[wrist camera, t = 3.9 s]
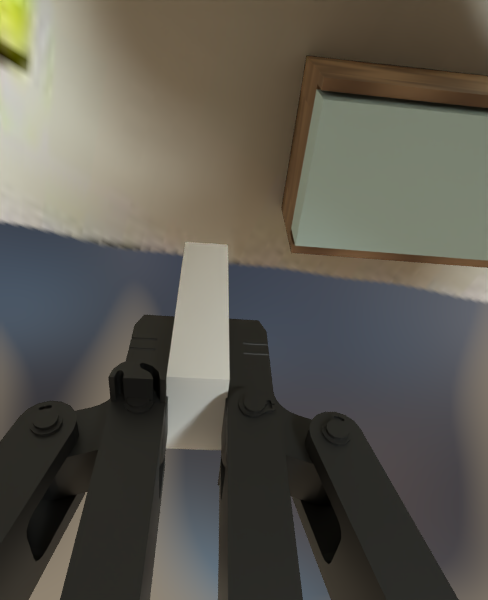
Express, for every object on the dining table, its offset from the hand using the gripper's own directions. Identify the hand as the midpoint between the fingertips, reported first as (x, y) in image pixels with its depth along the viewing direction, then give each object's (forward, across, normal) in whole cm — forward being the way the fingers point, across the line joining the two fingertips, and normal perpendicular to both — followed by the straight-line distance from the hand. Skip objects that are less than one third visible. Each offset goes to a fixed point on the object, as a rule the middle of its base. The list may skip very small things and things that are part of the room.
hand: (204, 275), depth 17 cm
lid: (+12, +11, 0) cm, 16 cm away
